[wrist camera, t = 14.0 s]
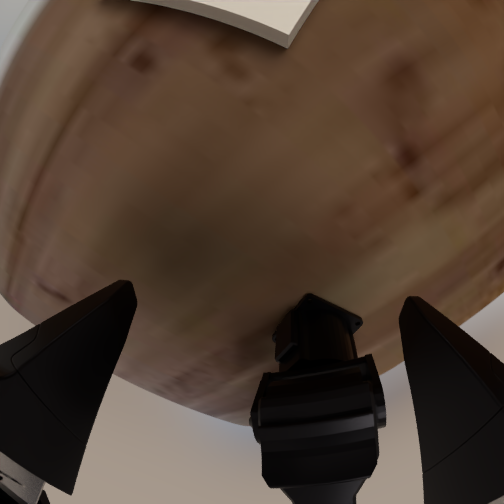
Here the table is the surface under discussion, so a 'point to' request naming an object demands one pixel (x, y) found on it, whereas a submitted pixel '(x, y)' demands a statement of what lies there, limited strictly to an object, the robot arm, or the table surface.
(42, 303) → the table surface
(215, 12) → the white board
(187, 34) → the table surface
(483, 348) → the robot arm
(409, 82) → the table surface
